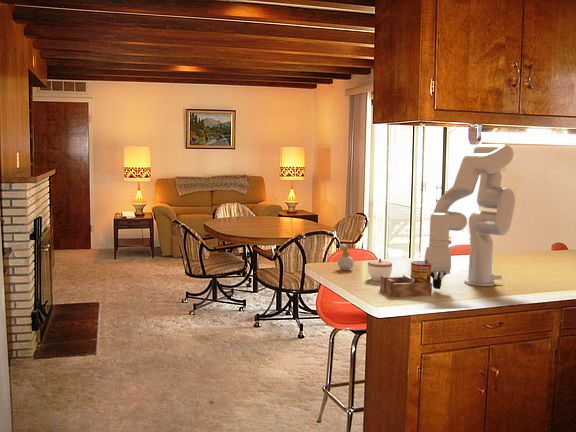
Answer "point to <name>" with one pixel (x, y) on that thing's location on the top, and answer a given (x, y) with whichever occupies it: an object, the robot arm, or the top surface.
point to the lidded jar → (379, 269)
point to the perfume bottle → (345, 259)
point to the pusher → (408, 279)
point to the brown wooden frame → (404, 287)
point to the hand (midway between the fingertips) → (436, 288)
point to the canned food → (421, 271)
